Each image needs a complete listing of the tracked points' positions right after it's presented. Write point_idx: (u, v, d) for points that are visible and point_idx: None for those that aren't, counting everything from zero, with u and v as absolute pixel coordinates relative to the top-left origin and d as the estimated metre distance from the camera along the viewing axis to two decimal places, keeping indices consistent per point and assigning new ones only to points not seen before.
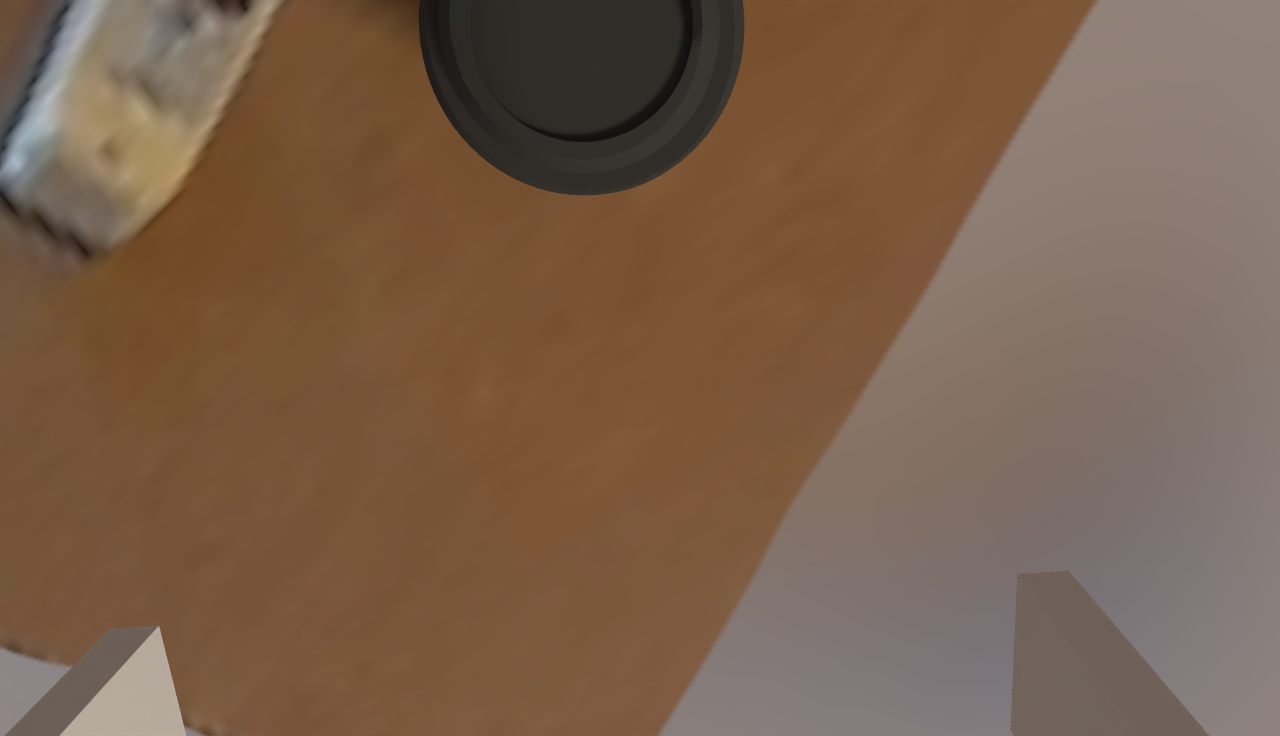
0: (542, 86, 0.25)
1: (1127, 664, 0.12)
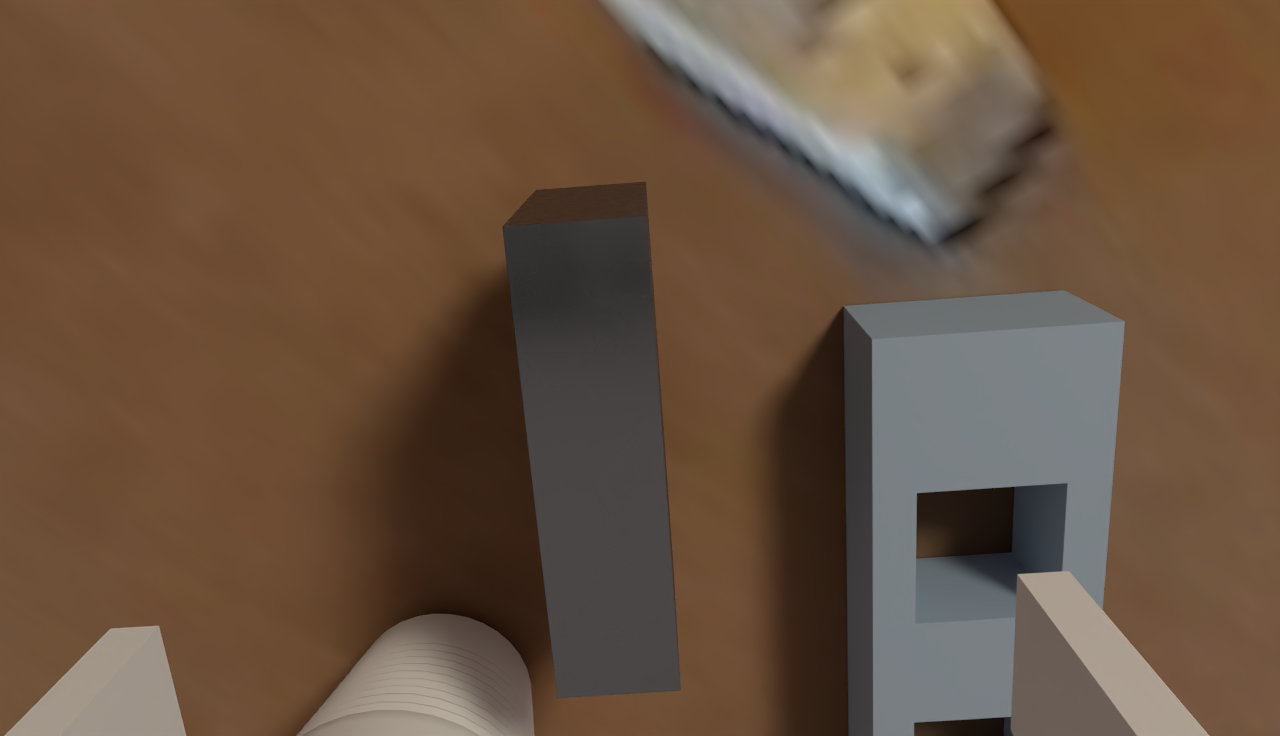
0: None
1: (1127, 664, 0.12)
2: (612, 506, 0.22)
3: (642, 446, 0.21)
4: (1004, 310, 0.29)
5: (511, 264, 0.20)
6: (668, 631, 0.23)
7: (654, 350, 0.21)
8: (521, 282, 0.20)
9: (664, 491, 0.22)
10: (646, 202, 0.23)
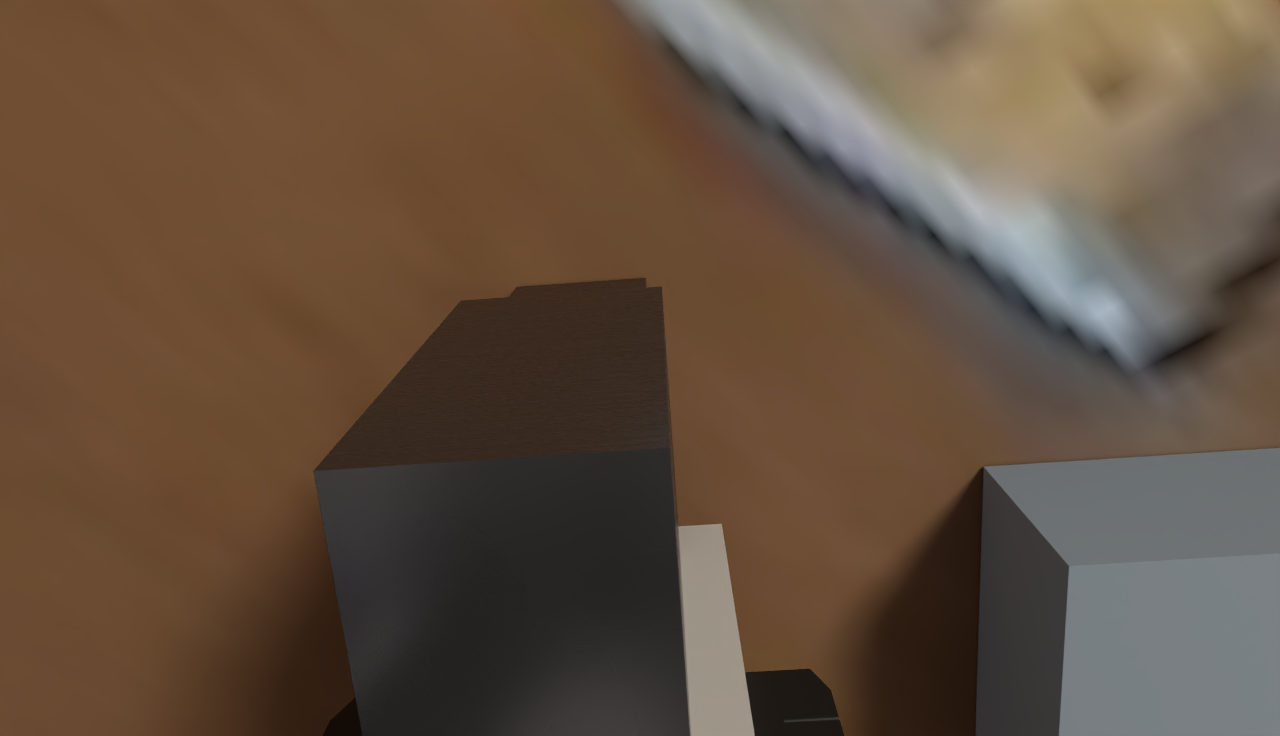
0: None
1: (716, 594, 0.14)
2: None
3: None
4: (1276, 493, 0.17)
5: (340, 556, 0.08)
6: None
7: None
8: (367, 595, 0.08)
9: None
10: (665, 358, 0.11)
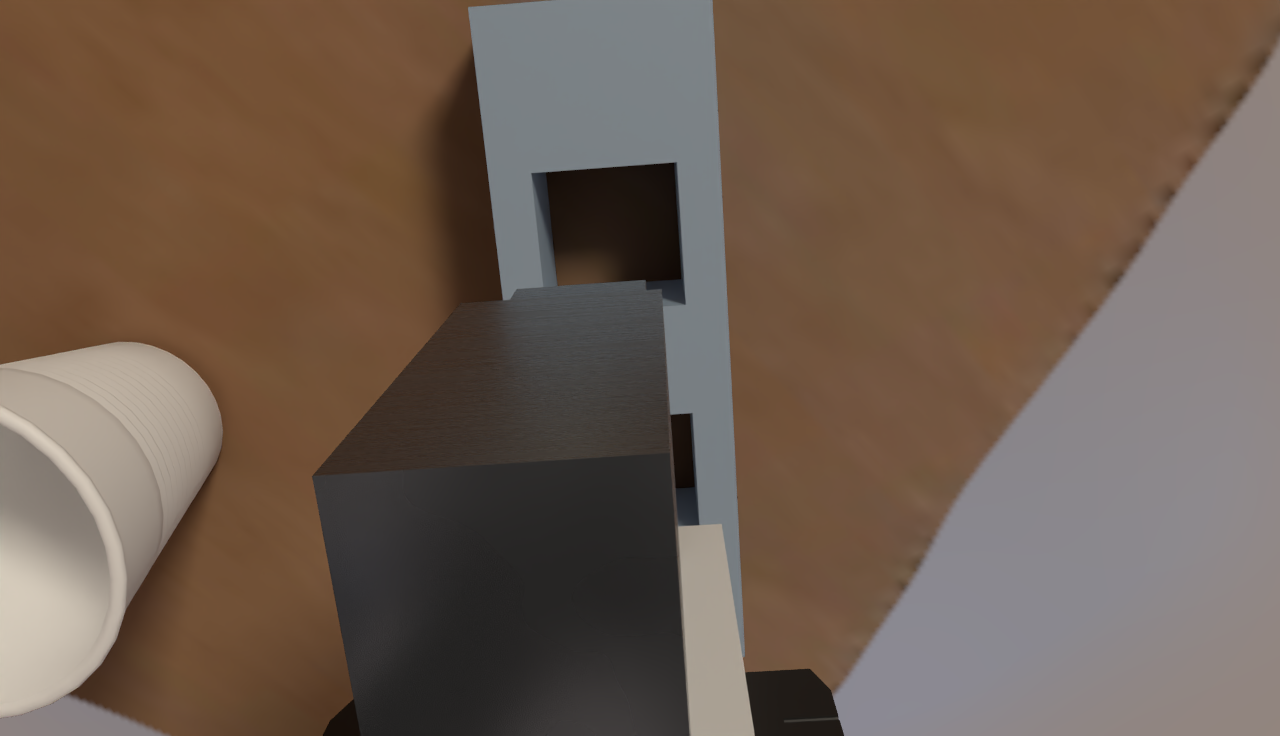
0: None
1: (716, 594, 0.14)
2: None
3: None
4: None
5: (339, 561, 0.08)
6: None
7: None
8: (366, 601, 0.08)
9: None
10: (665, 361, 0.11)
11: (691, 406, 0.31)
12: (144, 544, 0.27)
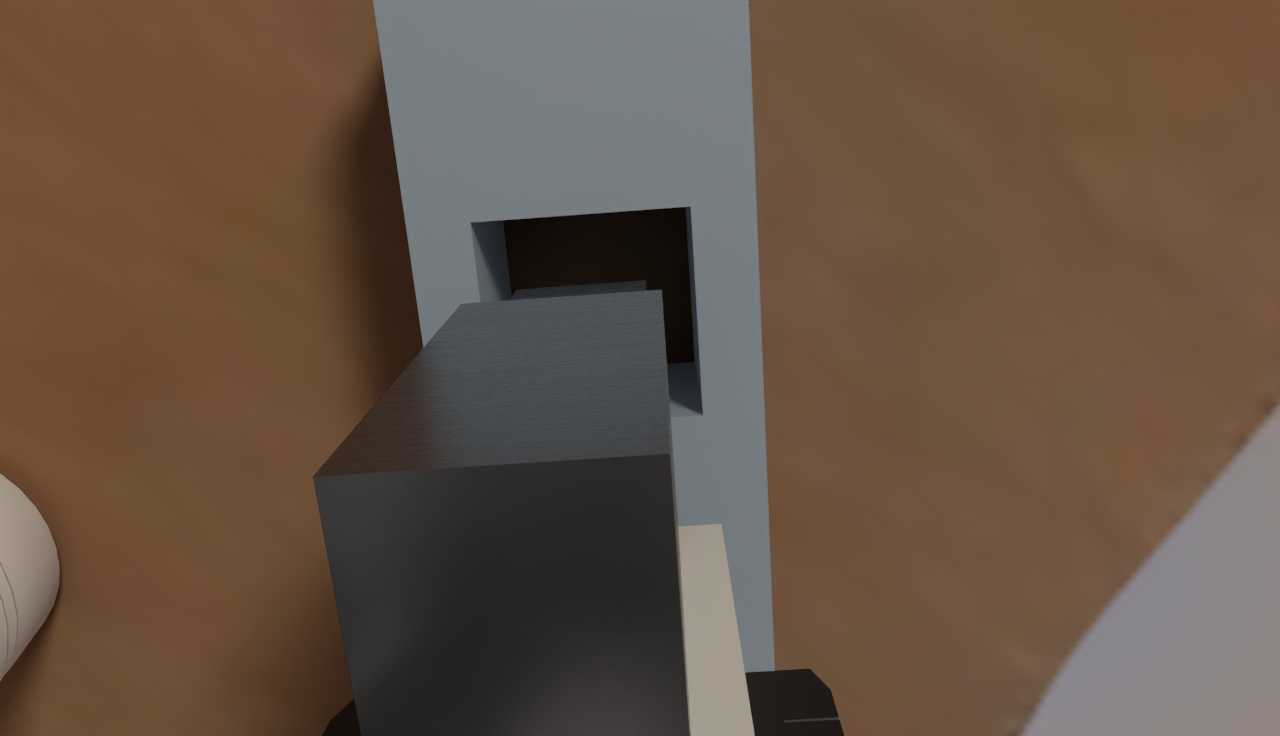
0: None
1: (716, 594, 0.14)
2: None
3: None
4: None
5: (339, 562, 0.08)
6: None
7: None
8: (366, 601, 0.08)
9: None
10: (665, 362, 0.11)
11: None
12: None
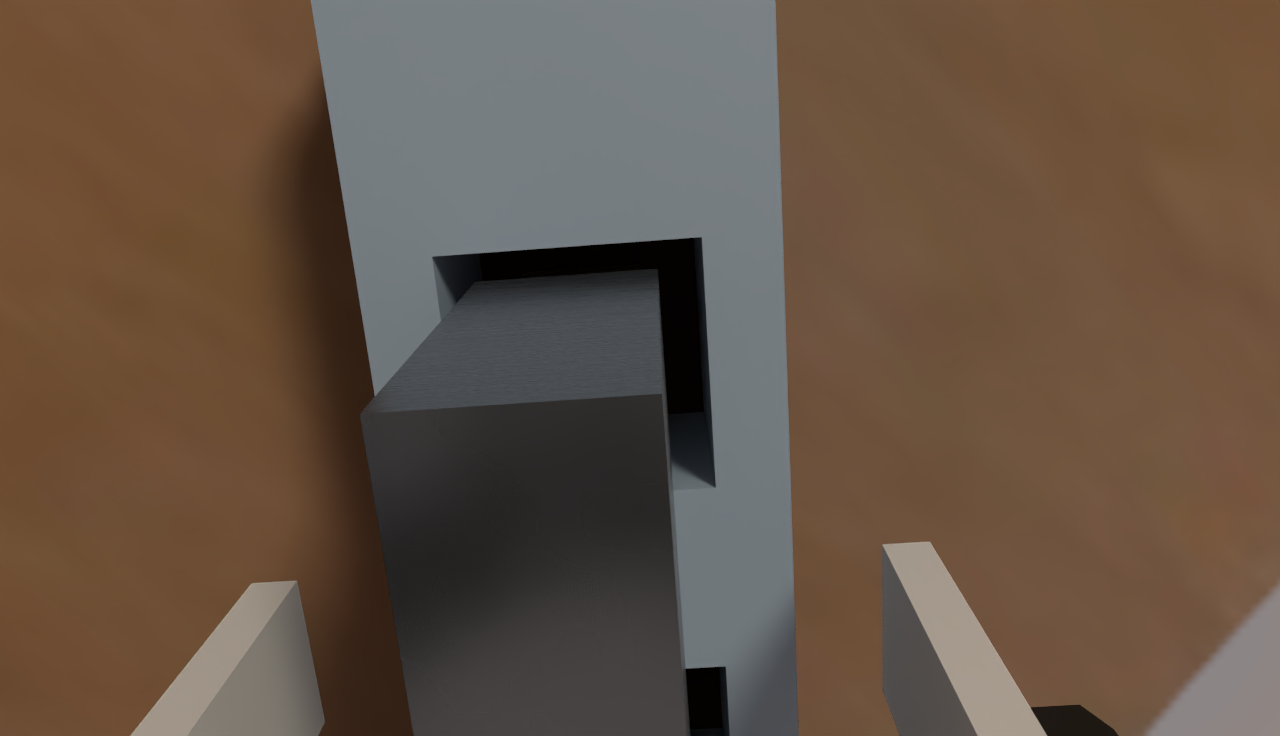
0: None
1: (959, 621, 0.13)
2: None
3: None
4: None
5: (381, 488, 0.10)
6: None
7: (677, 652, 0.10)
8: (403, 522, 0.10)
9: None
10: None
11: (724, 655, 0.18)
12: None
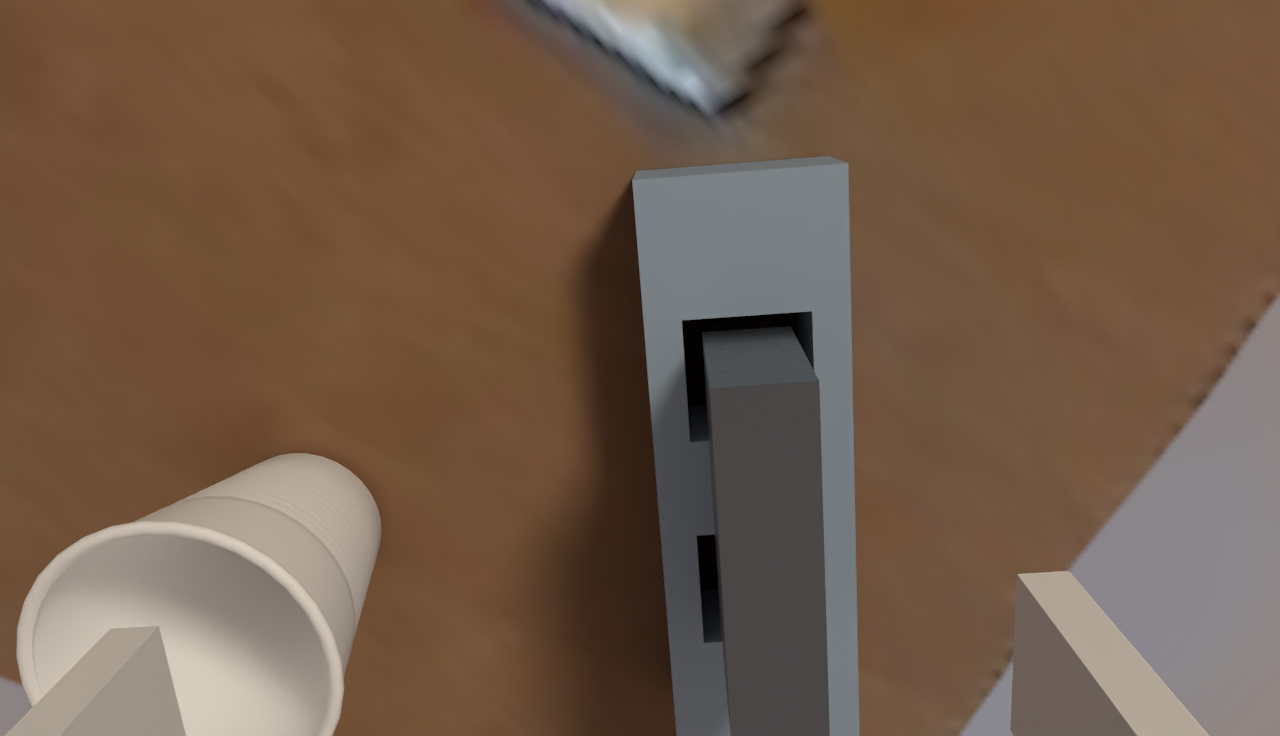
0: None
1: (1127, 664, 0.12)
2: (782, 597, 0.28)
3: (808, 551, 0.28)
4: (761, 165, 0.33)
5: (714, 415, 0.27)
6: (822, 694, 0.29)
7: (821, 479, 0.27)
8: (721, 428, 0.27)
9: (824, 585, 0.28)
10: None
11: None
12: (347, 653, 0.31)
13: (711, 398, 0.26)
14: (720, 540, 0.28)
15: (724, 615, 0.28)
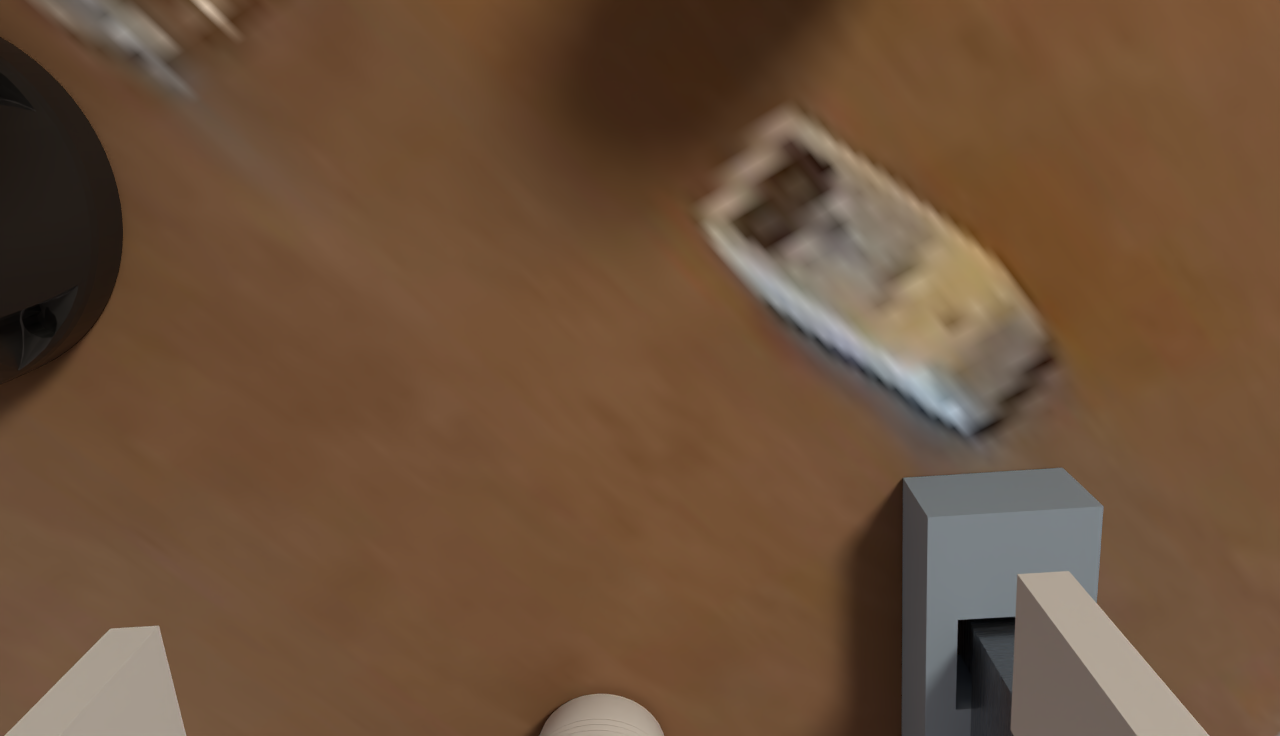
0: None
1: (1127, 664, 0.12)
2: None
3: None
4: (1019, 489, 0.40)
5: None
6: None
7: None
8: None
9: None
10: None
11: None
12: None
13: None
14: None
15: None
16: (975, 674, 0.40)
